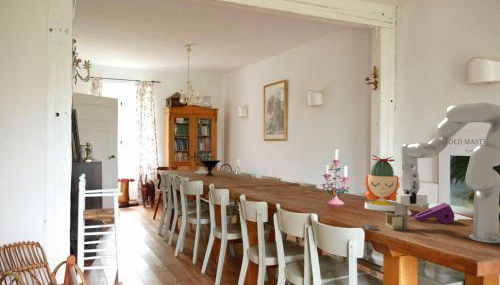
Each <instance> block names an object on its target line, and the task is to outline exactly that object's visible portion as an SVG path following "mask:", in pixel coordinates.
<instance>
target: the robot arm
mask: <svg viewBox="0 0 500 285" xmlns="http://www.w3.org/2000/svg"><path fill="white" fill-rule="evenodd" d="M469 123H482V124H490V127H489V129H488V131H487V133H486V136H485V141H484V144H480V145H478V146H476V147H475V148H474V149H472V152H471V154H470V157H469V161H468V165H467V169H466V173H465V178H464V180H465V184H466V186H467V187H468V189H470V190H472V191H474V195H473V218H472V219H473V221H472V223H473V226H472V227H473V229H472V232H473V234H469V236H468V238H469V239H470V240H472V241H476V242H479V243H480V242H481V243H489V244H500V231H499V217H500V214H499V213H500V212H499V211H500V210H499V206H500V174H499V173H498V172H497V171H496V170H495V169H494V167H498V166H500V105H498V104H494V103H489V102H488V103H487V102H471V103H455V104H452V105H450V106H448V107H447V109H446V111H445V118H444V119H443V120H442V121H441V122H440V123H438V125H437V126H436V128H437V134H436V136H434V138H433V139H431V140H430V141H429V142H428V143H427V142H424V143H422V142H418V143H406V144H405V143H404V144H402V145H401V171H402V176H401V178H402V179H401V180H402V181H401V185H402V189H403V194H410V195H411V196H410V204H416V203H417V202H416V196H417V194H418V192H419V190H420V177H419V176H420V174H419V172H418V171H419V170H418V169H419V168H418V166H419V165H418V164H419V163H418V159H431V158H434V157H436V156H437V155H439V154H440V153H442V151H444V150H445V149H446V148H447V146H448V145H449V143H450V142H451V140H452V138H453V137H454V136H456V135H457V133H459V132H460V131H461V130H462V129H463V128H465V127H466V126H467V125H468V124H469Z"/></svg>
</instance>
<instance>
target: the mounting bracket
mask: <svg viewBox="0 0 500 285" xmlns="http://www.w3.org/2000/svg"><path fill="white" fill-rule="evenodd" d="M432 217H434V218H435V219H436V220H438V221H440V222H441V223H443V224H451V223H452V222H453V221H455V220H454V217H455V216H454V211H453V209H452V207H451V205H450V204H449V203H446V202H443V203H439V204H437V205H435V206H433V207H430V208H427V209H426V210H425V209H424V210H423V211H420V212H418V213H417V214H415V215H414V217H413V218H414V219H415V221H417V220H418V221H419V222H421V221H424V220H427V219H430V218H432ZM418 221H417V222H418Z"/></svg>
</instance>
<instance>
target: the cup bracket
mask: <svg viewBox="0 0 500 285" xmlns="http://www.w3.org/2000/svg"><path fill="white" fill-rule="evenodd" d="M394 203H395V211H393V212H394V214H388V213H387V214H385V222H384V227H386V228H388V229H390V230H391V231H404V230H407V231H408V215H407V212H408V210H409V208H408V206H409V205H404V204H401V203H398V202H396V201H394Z"/></svg>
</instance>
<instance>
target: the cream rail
mask: <svg viewBox="0 0 500 285" xmlns="http://www.w3.org/2000/svg"><path fill="white" fill-rule="evenodd" d="M410 196H411V195H410V194H404V193H401V194H399V193H398V194H396V201H395V202H398V203H401V204H404V205H407V206H425V205H426V206H428V194H423V193H417V196H416V202H417V203H416V204H410Z"/></svg>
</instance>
